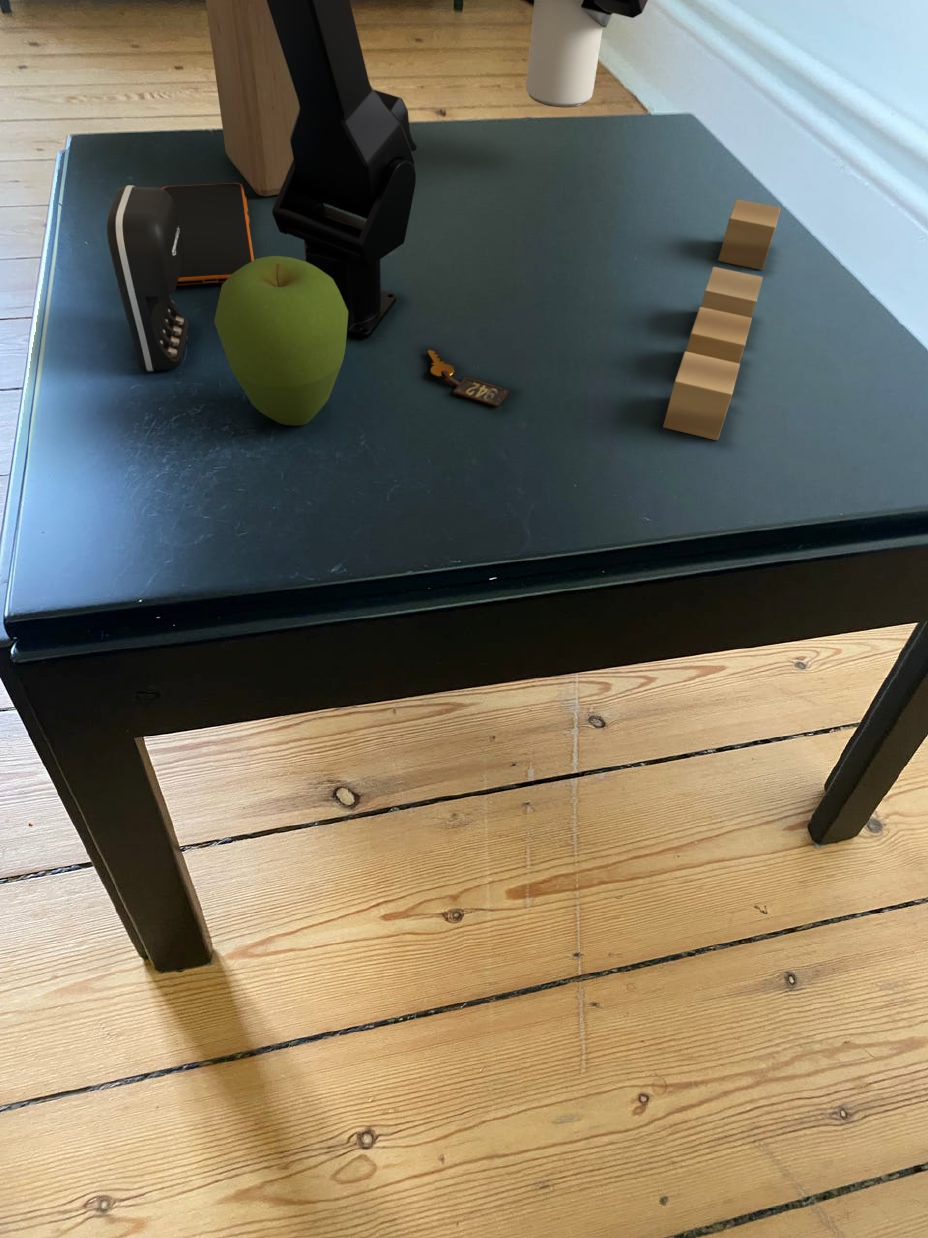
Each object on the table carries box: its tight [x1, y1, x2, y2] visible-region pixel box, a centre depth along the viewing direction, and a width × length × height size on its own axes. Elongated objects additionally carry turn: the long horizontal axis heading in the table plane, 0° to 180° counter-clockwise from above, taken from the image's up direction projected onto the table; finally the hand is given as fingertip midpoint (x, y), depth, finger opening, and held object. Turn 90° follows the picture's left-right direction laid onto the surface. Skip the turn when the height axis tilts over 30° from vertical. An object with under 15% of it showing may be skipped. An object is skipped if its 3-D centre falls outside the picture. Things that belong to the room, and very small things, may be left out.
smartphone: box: [161, 182, 255, 286], centre depth 83 cm, size 8×17×1 cm, turn 12°
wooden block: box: [205, 0, 299, 197], centre depth 85 cm, size 10×10×20 cm
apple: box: [213, 255, 348, 427], centre depth 63 cm, size 9×8×12 cm
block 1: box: [717, 198, 781, 271], centre depth 85 cm, size 4×4×4 cm
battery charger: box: [106, 184, 190, 372], centre depth 68 cm, size 7×4×11 cm, turn 4°
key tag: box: [427, 349, 510, 408], centre depth 71 cm, size 8×3×1 cm, turn 51°
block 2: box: [700, 266, 764, 319], centre depth 76 cm, size 4×4×4 cm
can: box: [525, 0, 604, 109], centre depth 87 cm, size 6×6×12 cm
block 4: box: [662, 351, 741, 441], centre depth 68 cm, size 4×4×4 cm
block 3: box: [685, 306, 753, 364], centre depth 72 cm, size 4×4×4 cm
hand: (575, 13), depth 87 cm, fingers closed on can, 6 cm apart
